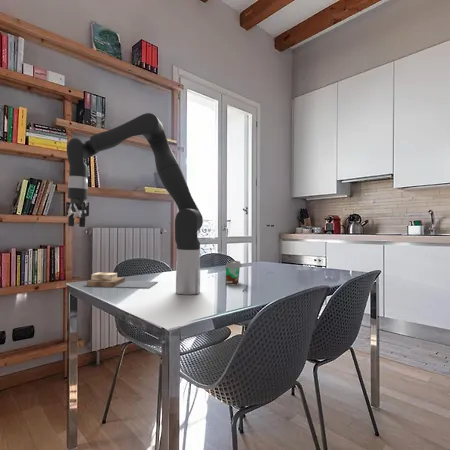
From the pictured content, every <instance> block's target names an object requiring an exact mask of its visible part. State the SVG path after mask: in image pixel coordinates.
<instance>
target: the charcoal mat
mask: <svg viewBox="0 0 450 450" xmlns="http://www.w3.org/2000/svg"><path fill="white" fill-rule="evenodd" d="M158 283H159V282H158V281H145V280H125V282H123V283H121V284H119V285H117V286H115V287H114V288H119V289H120V288H121V289H122V288H125V289H151V288H152V287H153V286H155V285H156V284H158Z"/></svg>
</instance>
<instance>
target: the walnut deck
mask: <svg viewBox="0 0 450 450" xmlns="http://www.w3.org/2000/svg"><path fill="white" fill-rule="evenodd" d="M125 281H126V277H120V276H119V277H118V276H117V279H115V280H113V281H102V280H91V279H89V280H87V281H86V287H100V288H101V287H105V288H116V287H115V286H117V285H119V284H121V283H123V282H125Z"/></svg>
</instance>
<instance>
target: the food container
mask: <svg viewBox="0 0 450 450" xmlns="http://www.w3.org/2000/svg"><path fill="white" fill-rule="evenodd" d="M241 267H242V262H241V261H239V260H230V262H226V263H225V285H226V284H235V285H238V284H239V278H240V271H241V270H240V269H241ZM237 283H238V284H237Z"/></svg>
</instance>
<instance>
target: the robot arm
mask: <svg viewBox="0 0 450 450" xmlns="http://www.w3.org/2000/svg"><path fill="white" fill-rule="evenodd" d="M166 134H167V133H166V131H165V128H164V125H163V123H162V121H160V119H159V118H158V116H157V115H156V114H154V113H151V112H146V113H143V114H141V115H139V116H137V117H135V118H133V119H131V120H129V121H127V122H124V123H123V124H121V125H118V126H116V127H114V128H111V129H108V130H105V131H102V132H98V133H96V134H93V135H91V136H90V138H89V140H86V141H84V140H82V139H80V138H76V137H74V138H71V139H69V141H68V142H67V145H66V156H67V161H68V164H69V169H68V171H69V173H68V174H69V175H68V182H67V199H68V200H70V201H66V202H65V215H64V216H67V219H68V221H67V222H68V224H67V225H68V227H74V226H75V216H76V214H78V216H79V218H78V227H79V228H85V227H86V218H87V217H89V216H90V201H86V200H87V199H88V186H89V185H88V184H89V183H88V182H89V181H88V173H89V167H88V165H87V164H86V163H85V161H84V160H85V159H87V158H91V157H93V156H95V155H97V154H98V153H100V152H103V151H106V150H110V149H113V148H115V147H117V146H119V145H120V144H121V143H124V142H125V141H126V140H127V139H130V138H132V137H137V136H143V137H144V138H145V139H146V140H147V142H148V144H149V146H150V148H151V151H152V154H153V156H154V162H155V169H156V172H157V174H158V176H159V179H160V182H161V184H162V185H163V187H164V189H165V190H166V192H167V193H168V194H169V195H170V197H171V198H172V200H173V201H174V202H175V204H176V206H177V208H178V212H177V213H176V215H175V218H174V239H175V240H174V241H175V244H176V262H175V263H176V264H175V266H176V267H175V268H176V270H175V272H176V273H175V275H176V276H175V294H178V295H186V296H187V295H189V296H191V295H198V294H199V293H200V291H201V266H200V265H201V243H200V240H199V238H198V231H199V230H200V229H201V228H202V226H203V224H204V219H203V215H202V213H201V211H200V209H199V208H198V205H197V204H196V202H195V201H194V198H193V196H192V194H191V192H190V189H189V186H188V184H187V181H186V179H185V175H184V173H183V170H182V168H181V166H180V164H179V162H178V159H177V158H176V156H175V154H174V152H173V150H172V148H171V147H170V144H169V141H168V138H167V135H166Z"/></svg>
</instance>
